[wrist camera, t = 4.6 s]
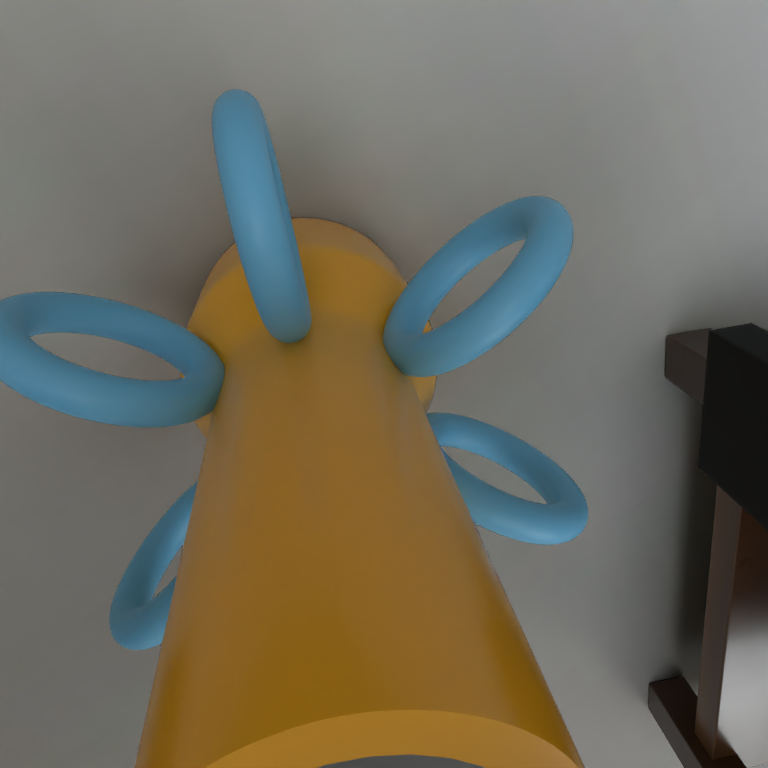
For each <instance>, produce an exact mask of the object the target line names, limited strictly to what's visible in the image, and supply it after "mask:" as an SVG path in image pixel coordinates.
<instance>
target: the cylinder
mask: <svg viewBox="0 0 768 768" xmlns="http://www.w3.org/2000/svg"><path fill="white" fill-rule="evenodd" d="M212 132H213V141H214V148H215V154H216V160H217V165H218V170H219V175H220V180H221V185H222V190H223V194H224V198H225V203H226V207H227V211H228V215H229V219H230V223H231V227H232V231H233V235H234V238H235V243H234V244H233V245H232V246H231V247H230V248H229V249H228V250H227V251H226V252H225V253H224V254H223V255H222V256H221V258H220V259H219V260H218V261H217V263H216V264H215V266H214V267H213V269H212V271H211V273H210V274H209V276H208V278H207V280H206V282H205V285H204V287H203V289H202V292H201V294H200V296H199V299H198V301H197V303H196V306H195V308H194V311H193V313H192V315H191V318H190V320H189V323H188V325H187V328H186V329H185V328H184V327H182V326H180V325H178V324H176V323H174V322H172V321H170V320H168V319H166V318H164V317H161V316H159V315H156V314H154V313H151V312H149V311H146V310H143V309H140V308H138V307H134V306H131V305H128V304H124V303H121V302H117V301H113V300H109V299H105V298H100V297H95V296H89V295H82V294H74V293H63V292H35V293H26V294H20V295H15V296H12V297H8V298H6V299H3V300H1V301H0V380H1V381H2V382H3V383H5V384H6V385H7V386H9V387H10V388H12V389H13V390H15V391H16V392H18V393H20V394H21V395H23V396H25V397H27V398H29V399H31V400H33V401H35V402H37V403H39V404H41V405H44V406H46V407H49V408H51V409H54V410H57V411H59V412H62V413H65V414H68V415H72V416H75V417H79V418H82V419H86V420H91V421H95V422H100V423H106V424H112V425H119V426H129V427H166V426H174V425H180V424H184V423H188V422H191V421H194V422H195V423H196V425H197V427H198V428H199V430H200V431H201V433H202V434H203V436H204V437H205V438H206V439H207V440H206V445H205V450H204V455H203V459H202V464H201V468H200V473H199V478H198V481H197V482H196V483H195V484H194V485H193V486H191V487H190V488H189V489H188V490H187V491H186V492H185V493H184V494H183V495H182V496H181V497H180V498H179V499H178V500H177V501H176V502H175V503H174V504H173V505H172V506H171V507H170V509H169V510H168V511H167V512H166V513H165V514H164V515H163V517H162V518H161V519H160V520H159V522H158V523H157V524H156V525H155V527H154V528H153V529H152V531H151V532H150V533H149V535H148V536H147V537H146V539H145V540H144V542H143V543H142V545H141V546H140V548H139V549H138V551H137V552H136V554H135V555H134V557H133V559H132V560H131V562H130V564H129V566H128V567H127V569H126V571H125V573H124V575H123V577H122V579H121V581H120V583H119V585H118V588H117V590H116V593H115V595H114V598H113V602H112V605H111V610H110V617H109V624H110V630H111V633H112V636H113V637H114V639H115V640H116V642H117V643H118V644H120V645H121V646H123V647H125V648H127V649H131V650H144V649H148V648H151V647H154V646H156V645H159V644H161V643H162V645H161V650H160V654H159V659H158V663H157V668H156V672H155V677H154V681H153V686H152V690H151V695H150V699H149V704H148V708H147V713H146V717H145V722H144V726H143V731H142V735H141V740H140V744H139V749H138V753H137V758H136V762H135V767H134V768H585V767H584V765H583V763H582V760H581V758H580V756H579V754H578V752H577V749H576V747H575V745H574V743H573V740H572V738H571V736H570V734H569V732H568V729H567V727H566V725H565V723H564V721H563V718H562V716H561V714H560V712H559V709H558V707H557V705H556V703H555V701H554V698H553V696H552V694H551V692H550V690H549V687H548V685H547V683H546V681H545V679H544V676H543V674H542V672H541V670H540V667H539V665H538V663H537V661H536V659H535V656H534V654H533V652H532V650H531V648H530V645H529V643H528V641H527V639H526V636H525V634H524V632H523V630H522V628H521V625H520V623H519V621H518V619H517V617H516V614H515V612H514V610H513V608H512V606H511V603H510V601H509V599H508V597H507V594H506V592H505V590H504V588H503V586H502V583H501V581H500V579H499V577H498V575H497V572H496V570H495V568H494V566H493V563H492V561H491V559H490V557H489V555H488V552H487V550H486V548H485V546H484V544H483V541H482V539H481V537H480V535H479V532H478V530H477V528H476V526H475V524H474V523H476V524H478V525H480V526H482V527H484V528H486V529H488V530H490V531H493V532H495V533H498V534H500V535H503V536H506V537H509V538H512V539H515V540H519V541H523V542H528V543H533V544H543V545H553V544H560V543H564V542H567V541H570V540H572V539H574V538H575V537H577V536H578V535H579V534H580V533H581V532H582V531H583V529H584V528H585V526H586V523H587V520H588V506H587V503H586V500H585V497H584V495H583V493H582V491H581V490H580V488H579V487H578V485H577V484H576V483H575V482H574V480H573V479H572V478H571V477H570V476H569V475H568V474H567V473H566V472H565V471H564V470H563V469H562V468H561V467H560V466H558V465H557V464H556V463H555V462H554V461H552V460H551V459H550V458H549V457H547V456H546V455H544V454H543V453H542V452H540V451H539V450H537V449H536V448H534V447H532V446H531V445H529V444H528V443H526V442H524V441H522V440H521V439H519V438H517V437H515V436H513V435H511V434H509V433H507V432H505V431H503V430H501V429H499V428H497V427H494V426H492V425H489V424H487V423H484V422H481V421H478V420H475V419H472V418H469V417H465V416H461V415H456V414H450V413H429V414H426V413H427V411H428V409H429V406H430V404H431V401H432V398H433V394H434V390H435V385H436V378H437V375H439V374H443V373H446V372H449V371H451V370H454V369H456V368H458V367H461V366H463V365H465V364H467V363H468V362H470V361H472V360H474V359H476V358H477V357H479V356H480V355H482V354H484V353H485V352H487V351H488V350H489V349H491V348H492V347H494V346H495V345H496V344H498V343H499V342H500V341H502V340H503V339H504V338H505V337H507V336H508V335H509V334H510V333H511V332H512V331H513V330H515V329H516V328H517V327H518V326H519V325H520V324H521V323H522V322H523V321H524V320H525V319H526V318H527V317H528V316H529V315H530V314H531V313H532V312H533V311H534V310H535V309H536V307H537V306H538V305H539V304H540V303H541V302H542V300H543V299H544V298H545V297H546V295H547V294H548V293H549V291H550V290H551V288H552V287H553V285H554V284H555V282H556V281H557V279H558V278H559V276H560V274H561V272H562V271H563V269H564V267H565V264H566V262H567V260H568V257H569V254H570V251H571V248H572V243H573V224H572V220H571V217H570V215H569V213H568V212H567V210H566V209H565V208H564V207H563V206H562V205H561V204H560V203H559V202H557V201H555V200H553V199H551V198H548V197H542V196H531V197H524V198H520V199H517V200H514V201H511V202H508V203H506V204H504V205H501V206H499V207H497V208H495V209H493V210H492V211H490V212H488V213H486V214H485V215H483V216H481V217H480V218H478V219H477V220H475V221H474V222H472V223H471V224H470V225H468V226H467V227H465V228H464V229H463V230H462V231H460V232H459V233H458V234H456V235H455V236H454V237H453V238H452V239H450V240H449V241H448V242H447V243H446V244H445V245H444V246H443V247H441V248H440V249H439V250H438V251H437V252H436V253H435V254H434V255H433V256H432V257H431V258H430V259H429V260H428V261H427V262H426V263H425V264H424V266H423V267H422V268H421V269H420V270H419V271H418V272H417V274H416V275H415V276H414V277H413V278H412V280H411V281H410V282H409V283H408V284H407V283H406V281H405V280H404V278H403V277H402V275H401V274H400V272H399V271H398V269H397V268H396V266H395V265H394V263H393V262H392V261H391V260H390V258H389V257H388V256H387V255H386V254H385V253H384V252H383V250H382V249H381V248H379V247H378V246H377V245H376V244H375V243H374V242H373V241H371V240H370V239H369V238H367V237H366V236H364V235H363V234H361V233H359V232H357V231H356V230H354V229H352V228H350V227H347V226H345V225H342V224H339V223H336V222H332V221H328V220H323V219H316V218H291V215H290V211H289V207H288V203H287V199H286V195H285V191H284V187H283V183H282V179H281V175H280V171H279V167H278V163H277V159H276V155H275V151H274V148H273V144H272V140H271V137H270V133H269V130H268V126H267V123H266V120H265V117H264V114H263V111H262V108H261V106H260V104H259V102H258V101H257V100H256V98H255V97H254V96H252V95H251V94H250V93H248V92H246V91H243V90H239V89H233V90H229V91H226V92H224V93H223V94H222V95H220V96H219V98H218V99H217V100H216V102H215V104H214V107H213V112H212ZM523 239H526V240H525V243H524V245H523V247H522V248H521V250H520V252H519V253H518V255H517V257H516V258H515V259H514V261H513V262H512V264H511V265H510V266H509V267H508V269H507V270H506V271H505V272H504V274H503V275H502V276H501V277H500V278H499V279H498V280H497V281H496V282H495V283H494V285H493V286H492V287H491V288H490V289H489V290H488V291H486V292H485V293H484V294H483V295H482V296H481V297H480V298H479V299H478V300H477V301H475V302H474V303H473V304H472V305H471V306H469V307H468V308H467V309H466V310H464V311H463V312H462V313H460V314H459V315H457V316H456V317H455V318H453V319H452V320H450V321H448V322H447V323H445V324H443V325H442V326H440V327H438V328H436V329H434V330H432V328H431V325H430V323H429V320H428V319H429V318H430V316H431V314H432V313H433V311H434V310H435V308H436V307H437V305H438V304H439V303H440V301H441V300H442V299H443V298H444V296H445V295H446V294H447V293H448V292H449V291H450V290H451V289H452V287H453V286H454V285H455V284H456V283H457V282H458V281H459V280H460V279H461V278H463V277H464V276H465V275H466V274H467V273H468V272H469V271H470V270H472V269H473V268H474V267H475V266H476V265H478V264H479V263H480V262H482V261H483V260H484V259H486V258H487V257H489V256H490V255H492V254H493V253H495V252H496V251H498V250H500V249H502V248H503V247H505V246H507V245H509V244H512V243H514V242H516V241H519V240H523ZM54 332H68V333H81V334H89V335H95V336H100V337H105V338H109V339H113V340H117V341H121V342H124V343H127V344H130V345H133V346H136V347H139V348H141V349H144V350H146V351H148V352H150V353H153V354H155V355H157V356H158V357H160V358H162V359H164V360H166V361H167V362H169V363H170V364H172V365H173V366H174V367H176V368H177V369H178V370H179V371H180V373H181V379H177V380H170V381H146V380H136V379H129V378H123V377H118V376H113V375H109V374H105V373H101V372H97V371H94V370H91V369H87V368H84V367H82V366H79V365H76V364H74V363H71V362H69V361H66V360H64V359H62V358H60V357H58V356H56V355H54V354H52V353H50V352H48V351H47V350H45V349H43V348H42V347H40V346H39V345H38V344H36V343H35V342H34V341H33V340H32V339H31V338H30V337H31V336H34V335H38V334H43V333H54ZM440 446H449V447H455V448H459V449H463V450H467V451H470V452H473V453H475V454H478V455H481V456H483V457H485V458H487V459H490V460H492V461H494V462H496V463H498V464H500V465H501V466H503V467H505V468H507V469H508V470H510V471H511V472H513V473H515V474H516V475H518V476H519V477H520V478H522V479H523V480H524V481H526V482H527V483H528V484H529V485H531V486H532V487H533V488H534V489H535V490H536V491H537V492H538V493H539V494H540V495H541V496H542V497H543V498H544V499H545V501H546V502H547V504H540V503H535V502H531V501H527V500H524V499H521V498H518V497H515V496H513V495H510V494H508V493H505V492H503V491H501V490H499V489H497V488H495V487H493V486H491V485H489V484H487V483H485V482H484V481H482V480H480V479H478V478H477V477H475V476H474V475H472V474H471V473H469V472H468V471H466V470H465V469H463V468H462V467H461V466H459V465H458V464H457V463H456V462H455V461H453V460H452V459H451V458H450V457H449V456H448V455H447V454H446V453H445V452H444V451H443V450H442V448H441V447H440ZM183 543H184V546H183V551H182V555H181V560H180V564H179V569H178V573H177V576H176V577H175V578H174V579H173V580H172V581H171V583H170V584H169V585H168V586H167V587H166V588H165V589H164V590H163V591H162V592H161V593H159V594H158V595H157V596H156V597H155V598H154V599H153V600H152V598H153V595H154V593H155V590H156V588H157V586H158V584H159V582H160V580H161V578H162V576H163V574H164V572H165V570H166V569H167V567H168V565H169V564H170V562H171V561H172V559H173V558H174V556H175V555H176V553H177V552H178V550H179V549H180V547H181V546H182V545H183Z"/></svg>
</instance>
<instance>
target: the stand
mask: <svg viewBox="0 0 768 768" xmlns="http://www.w3.org/2000/svg"><path fill="white" fill-rule="evenodd" d="M710 330H713V329H704V330H698V331H693V332H687V333H682V334H676V335H671V336H668V337H667V352H666V372H665V376H666V378H667V379H668V380H669V381H671V382H672V383H674V384H675V385H676V386H678V387H679V388H680V389H682V390H683V391H685V392H686V393H687V394H689V395H690V396H691V397H693V398H694V399H696V400H697V401H698V402H700V403H701V404H702V405H703V398H704V385H705V373H706V360H707V348H708V335H709V331H710ZM649 710H650V712H651V713H652V715H653V717H654V718H655V720H656V722H657V723H658V725H659V727H660V728H661V730H662V732H663V733H664V735H665V737H666V738H667V740H668V742H669V743H670V745H671V747H672V748H673V750H674V752H675V753H676V755H677V757H678V758H679V760H680V762H681V763H682V765H683V767H684V768H750V767H755V766H759V765H763V764H767V763H768V531H767V530H766V529H765V528H764V527H763V526H762V525H760V524H759V523H758V522H757V521H756V520H755V519H754V518H753V517H752V516H751V515H750V514H748V513H747V512H746V511H745V510H744V509H743V508H742V507H741V506H740V505H739V504H738V503H736V502H735V501H734V500H733V499H732V498H731V497H730V496H729V495H728V494H727V493H726V492H724V491H723V490H722V489H721V488H720V487H719V486H718V485H717V493H716V504H715V515H714V525H713V536H712V547H711V558H710V569H709V579H708V590H707V601H706V612H705V623H704V634H703V644H702V655H701V666H700V677H699V688H698V697H697V695H696V694H695V692H694V691H693V690H692V688H691V687H690V685H689V684H688V682H687V681H686V679H685V678H684V677H683V676H682V677H678V678H673V679H669V680H664V681H660V682H655V683H651V684H650V689H649Z"/></svg>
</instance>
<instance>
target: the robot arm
mask: <svg viewBox="0 0 768 768" xmlns="http://www.w3.org/2000/svg"><path fill="white" fill-rule="evenodd" d="M698 468H699V469H700V470H702V471H703V472H704V473H705V474H706V475H707V476H708V477H709V478H710V479H711V480H712V481H714V482H715V483H716V484H717V485H718V486H719V487H720V488H721V489H722V490H723V491H724V492H726V493H727V494H728V495H729V496H730V497H731V498H732V499H733V500H734V501H735V502H736V503H738V504H739V505H740V506H741V507H742V508H743V509H744V510H745V511H746V512H747V513H748V514H750V515H751V516H752V517H753V518H754V519H755V520H756V521H757V522H758V523H759V524H760V525H762V526H763V527H764V528H765V529H766V530H767V531H768V331H766V330H764V329H762V328H760V327H758V326H756V325H754V324H752V323H750V324H744V325H738V326H733V327H727V328H721V329H716V330H710V331H709V335H708V348H707V360H706V373H705V385H704V398H703V411H702V423H701V436H700V448H699V461H698Z"/></svg>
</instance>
